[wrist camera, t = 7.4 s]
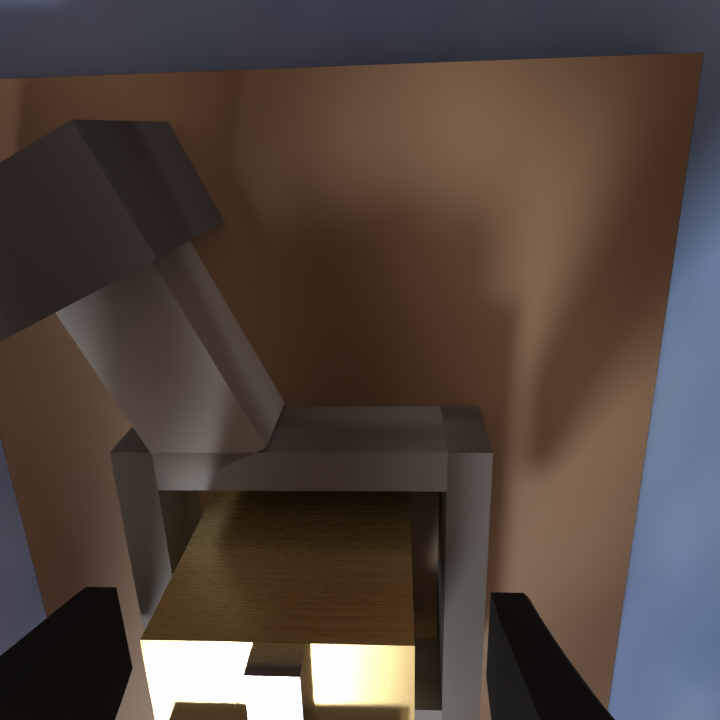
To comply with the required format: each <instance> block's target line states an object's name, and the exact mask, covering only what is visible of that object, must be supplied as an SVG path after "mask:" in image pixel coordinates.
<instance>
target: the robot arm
mask: <svg viewBox="0 0 720 720" xmlns="http://www.w3.org/2000/svg"><path fill="white" fill-rule="evenodd" d="M132 669H133V667H132V662H131V657H130V652H129V647H128V642H127V637H126V633H125V628H124V623H123V618H122V613H121V608H120V603H119V598H118V593H117V588H116V587H85V588H84V589H82V590H81V591H80V592H79V593H77V594H76V595H75V596H73V597H72V598H71V599H70V600H68V601H67V602H66V603H65V604H63V605H62V606H61V607H60V608H58V609H57V610H56V611H55V612H54V613H52V614H51V615H50V616H49V617H48V618H46V619H45V620H44V621H43V622H41V623H40V624H39V625H38V626H37V627H35V628H34V629H33V630H32V631H31V632H29V633H28V634H27V635H26V636H24V637H23V638H22V639H21V640H19V641H18V642H17V643H16V644H15V645H13V646H12V647H11V648H10V649H8V650H7V651H6V652H5V653H3V654H2V655H1V656H0V720H115V718H116V715H117V713H118V710H119V707H120V705H121V702H122V699H123V696H124V693H125V690H126V687H127V684H128V681H129V678H130V675H131V672H132ZM486 679H487V688H488V696H489V705H490V713H491V720H615V719H614V718H613V717H612V716H611V714H610V713H609V712H608V711H607V710H606V708H605V707H604V706H603V705H602V703H601V702H600V701H599V699H598V698H597V697H596V696H595V694H594V693H593V692H592V690H591V689H590V688H589V686H588V685H587V684H586V682H585V681H584V680H583V678H582V677H581V676H580V674H579V673H578V672H577V670H576V669H575V667H574V666H573V665H572V663H571V662H570V661H569V659H568V658H567V656H566V655H565V653H564V652H563V651H562V649H561V648H560V646H559V645H558V643H557V642H556V640H555V639H554V637H553V636H552V634H551V633H550V631H549V630H548V628H547V627H546V625H545V623H544V622H543V620H542V619H541V617H540V616H539V614H538V612H537V611H536V609H535V607H534V606H533V604H532V602H531V600H530V599H529V597H528V596H527V595H525V594H524V593H508V592H491V594H490V613H489V631H488V650H487V669H486Z"/></svg>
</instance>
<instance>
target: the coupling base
mask: <svg viewBox="0 0 720 720" xmlns="http://www.w3.org/2000/svg"><path fill="white" fill-rule="evenodd" d="M703 55H704V52H700V53H674V54H647V55H621V56H594V57H568V58H541V59H515V60H488V61H461V62H435V63H408V64H382V65H355V66H329V67H302V68H276V69H249V70H223V71H196V72H170V73H143V74H117V75H90V76H63V77H37V78H10V79H0V437H1V441H2V445H3V449H4V453H5V456H6V460H7V464H8V468H9V472H10V476H11V480H12V484H13V488H14V491H15V495H16V499H17V503H18V507H19V511H20V515H21V519H22V523H23V526H24V530H25V534H26V538H27V542H28V546H29V550H30V554H31V558H32V562H33V565H34V569H35V573H36V577H37V581H38V585H39V589H40V593H41V597H42V600H43V604H44V608H45V612H46V616H47V618H48V617H49V616H50V615H51V614H52V613H54V612H55V611H56V610H57V609H58V608H60V607H61V606H62V605H63V604H65V603H66V602H67V601H68V600H70V599H71V598H72V597H73V596H75V595H76V594H77V593H79V592H80V591H81V590H82V589H84V588H85V587H116V588H117V593H118V598H119V603H120V608H121V613H122V618H123V623H124V628H125V633H126V637H127V642H128V647H129V652H130V657H131V662H132V667H133V669H132V672H131V675H130V678H129V681H128V684H127V687H126V690H125V693H124V696H123V699H122V702H121V705H120V707H119V710H118V713H117V715H116V718H115V720H155V716H154V710H153V705H152V700H151V695H150V690H149V684H148V679H147V674H146V669H145V664H144V658H143V653H142V648H141V643H140V639H141V637H142V635H143V633H144V631H145V629H146V627H147V625H148V623H149V621H150V619H151V617H152V615H153V613H154V611H155V609H156V607H157V605H158V603H159V601H160V599H161V597H162V595H163V593H164V591H165V589H166V587H167V585H168V583H169V581H170V579H171V577H172V575H173V573H174V571H175V569H176V567H177V565H178V563H179V561H180V559H181V557H182V555H183V553H184V551H185V549H186V547H187V545H188V543H189V541H190V539H191V537H192V535H193V533H194V531H195V529H196V527H197V525H198V523H199V521H200V519H201V517H202V515H203V513H204V511H205V509H206V507H207V505H208V503H209V501H210V499H211V497H212V495H213V493H214V491H409V495H410V524H411V552H412V581H413V610H414V639H415V710H414V720H491V713H490V705H489V696H488V688H487V679H486V669H487V650H488V631H489V613H490V594H491V592H508V593H524V594H525V595H527V596H528V597H529V599H530V600H531V602H532V604H533V606H534V607H535V609H536V611H537V612H538V614H539V616H540V617H541V619H542V620H543V622H544V623H545V625H546V627H547V628H548V630H549V631H550V633H551V634H552V636H553V637H554V639H555V640H556V642H557V643H558V645H559V646H560V648H561V649H562V651H563V652H564V653H565V655H566V656H567V658H568V659H569V661H570V662H571V663H572V665H573V666H574V667H575V669H576V670H577V672H578V673H579V674H580V676H581V677H582V678H583V680H584V681H585V682H586V684H587V685H588V686H589V688H590V689H591V690H592V692H593V693H594V694H595V696H596V697H597V698H598V699H599V701H600V702H601V703H602V705H603V706H604V707H605V708H606V710H607V711H608V704H609V697H610V690H611V683H612V677H613V670H614V663H615V656H616V649H617V642H618V636H619V629H620V622H621V615H622V608H623V601H624V595H625V588H626V581H627V574H628V567H629V560H630V554H631V547H632V540H633V533H634V526H635V519H636V513H637V506H638V499H639V492H640V485H641V478H642V472H643V465H644V458H645V451H646V444H647V437H648V431H649V424H650V417H651V410H652V403H653V396H654V390H655V383H656V376H657V369H658V362H659V355H660V349H661V342H662V335H663V328H664V321H665V314H666V308H667V301H668V294H669V287H670V280H671V274H672V267H673V260H674V253H675V246H676V239H677V233H678V226H679V219H680V212H681V205H682V198H683V192H684V185H685V178H686V171H687V164H688V157H689V151H690V144H691V137H692V130H693V123H694V116H695V110H696V103H697V96H698V89H699V82H700V75H701V69H702V62H703Z"/></svg>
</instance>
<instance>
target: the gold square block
mask: <svg viewBox="0 0 720 720" xmlns="http://www.w3.org/2000/svg"><path fill="white" fill-rule="evenodd" d="M140 643H141V648H142V653H143V658H144V664H145V669H146V674H147V679H148V684H149V690H150V695H151V700H152V705H153V710H154V716H155V720H414V710H415V639H414V610H413V581H412V552H411V524H410V495H409V491H214V493H213V495H212V497H211V499H210V501H209V503H208V505H207V507H206V509H205V511H204V513H203V515H202V517H201V519H200V521H199V523H198V525H197V527H196V529H195V531H194V533H193V535H192V537H191V539H190V541H189V543H188V545H187V547H186V549H185V551H184V553H183V555H182V557H181V559H180V561H179V563H178V565H177V567H176V569H175V571H174V573H173V575H172V577H171V579H170V581H169V583H168V585H167V587H166V589H165V591H164V593H163V595H162V597H161V599H160V601H159V603H158V605H157V607H156V609H155V611H154V613H153V615H152V617H151V619H150V621H149V623H148V625H147V627H146V629H145V631H144V633H143V635H142V637H141V639H140Z"/></svg>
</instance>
